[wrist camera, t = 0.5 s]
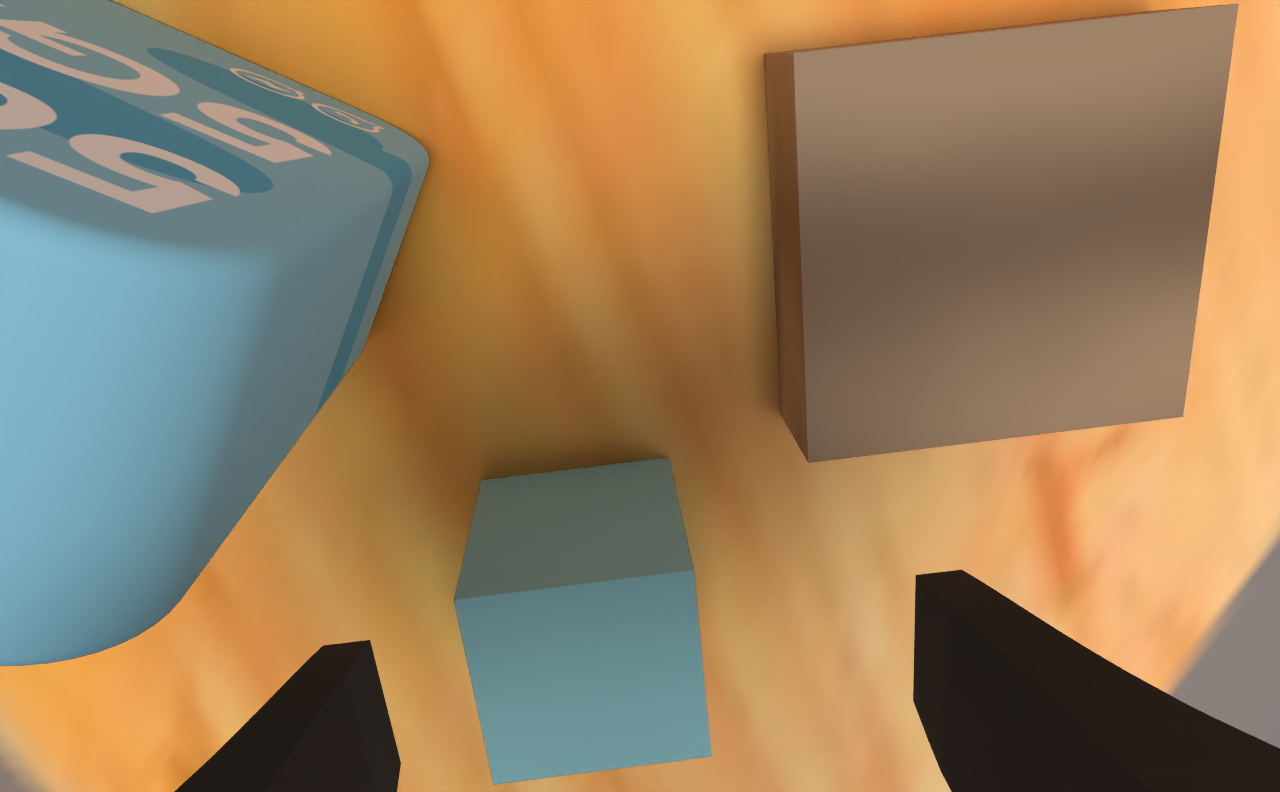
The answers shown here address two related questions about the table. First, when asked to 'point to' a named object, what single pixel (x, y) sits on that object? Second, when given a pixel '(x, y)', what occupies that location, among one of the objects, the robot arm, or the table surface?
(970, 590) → the robot arm
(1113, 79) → the walnut block
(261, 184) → the data package
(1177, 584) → the table surface
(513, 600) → the teal block
